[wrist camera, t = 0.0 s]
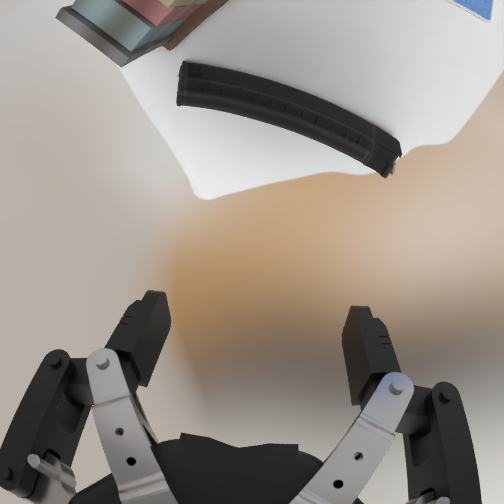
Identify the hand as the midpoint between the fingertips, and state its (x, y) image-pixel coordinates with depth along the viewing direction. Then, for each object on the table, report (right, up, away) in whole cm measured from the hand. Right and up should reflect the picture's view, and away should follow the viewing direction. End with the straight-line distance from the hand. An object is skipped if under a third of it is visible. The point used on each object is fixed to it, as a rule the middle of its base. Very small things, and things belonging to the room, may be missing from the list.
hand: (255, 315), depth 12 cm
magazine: (+5, +23, +21) cm, 32 cm away
